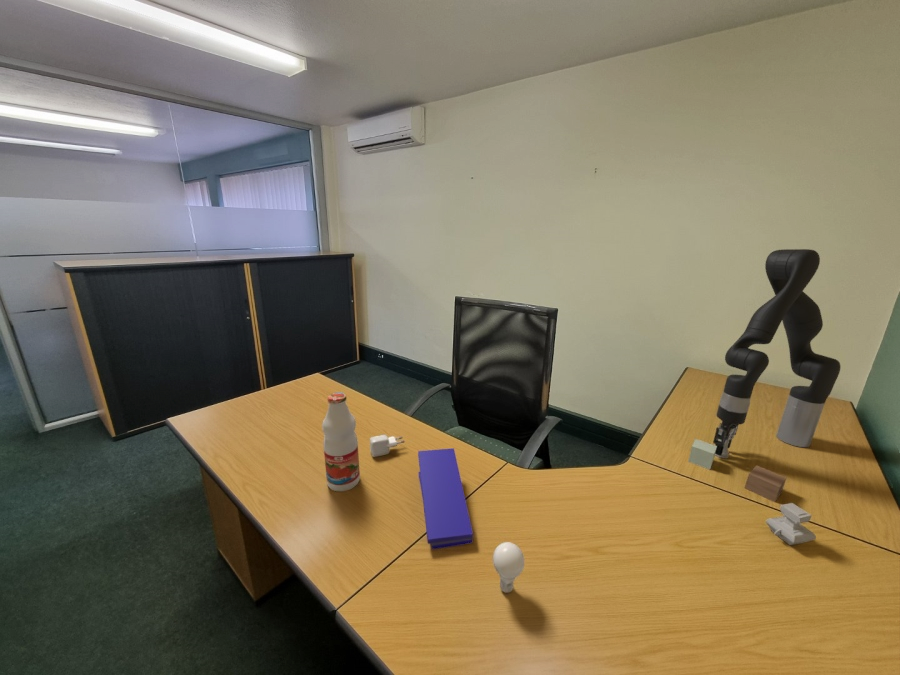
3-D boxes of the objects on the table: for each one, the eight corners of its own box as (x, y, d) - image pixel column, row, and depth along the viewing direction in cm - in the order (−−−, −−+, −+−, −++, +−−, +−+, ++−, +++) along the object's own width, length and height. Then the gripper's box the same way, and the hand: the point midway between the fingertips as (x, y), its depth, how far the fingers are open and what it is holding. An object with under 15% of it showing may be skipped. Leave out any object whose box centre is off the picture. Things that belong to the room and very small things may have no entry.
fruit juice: (362, 471, 111) (357, 388, 103) (356, 492, 102) (350, 403, 94) (332, 471, 111) (324, 388, 103) (323, 492, 102) (313, 404, 94)
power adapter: (401, 444, 125) (401, 429, 124) (405, 451, 121) (405, 436, 119) (369, 451, 121) (369, 435, 119) (372, 459, 117) (371, 443, 115)
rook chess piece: (731, 459, 120) (737, 439, 117) (716, 458, 120) (721, 437, 118) (724, 452, 124) (729, 431, 122) (709, 450, 125) (715, 430, 122)
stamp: (787, 551, 85) (797, 523, 83) (759, 529, 91) (767, 502, 89) (816, 546, 87) (827, 518, 84) (787, 525, 93) (796, 498, 91)
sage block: (691, 454, 123) (695, 438, 121) (712, 461, 119) (717, 446, 117) (688, 461, 118) (691, 446, 117) (709, 470, 114) (714, 453, 113)
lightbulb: (488, 576, 78) (491, 535, 75) (517, 574, 78) (520, 534, 75) (494, 605, 72) (497, 562, 69) (525, 602, 72) (529, 560, 69)
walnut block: (752, 479, 110) (756, 465, 109) (781, 492, 105) (786, 477, 104) (744, 487, 106) (748, 473, 105) (774, 502, 101) (779, 487, 100)
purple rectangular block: (451, 471, 112) (452, 444, 109) (475, 545, 86) (477, 512, 83) (415, 475, 110) (415, 448, 107) (428, 553, 84) (428, 519, 81)
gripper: (727, 396, 124) (716, 438, 129) (711, 407, 116) (700, 452, 121) (754, 405, 118) (742, 448, 123) (739, 417, 110) (726, 463, 115)
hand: (721, 450), depth 122 cm, fingers open, 6 cm apart
